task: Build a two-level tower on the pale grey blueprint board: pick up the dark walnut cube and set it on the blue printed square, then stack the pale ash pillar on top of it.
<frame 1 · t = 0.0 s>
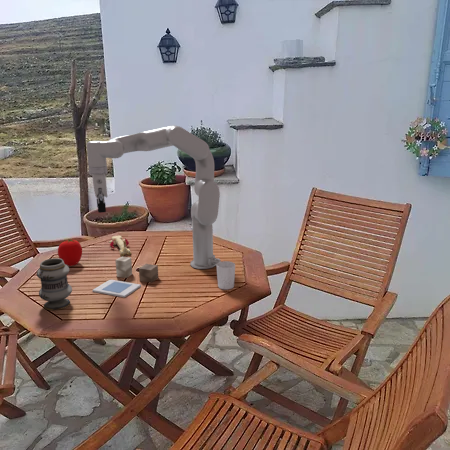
hand: (101, 209, 191), 31 cm above the table, tool pointing down, fingers open, 9 cm apart
apothecary jar: (57, 305, 172), on the table
blueprint board: (117, 289, 186), on the table
white cup: (226, 286, 187), on the table
ash pillar: (124, 275, 201), on the table
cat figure: (120, 249, 237), on the table
tomato: (72, 265, 214), on the table
walnut cube: (149, 279, 196), on the table
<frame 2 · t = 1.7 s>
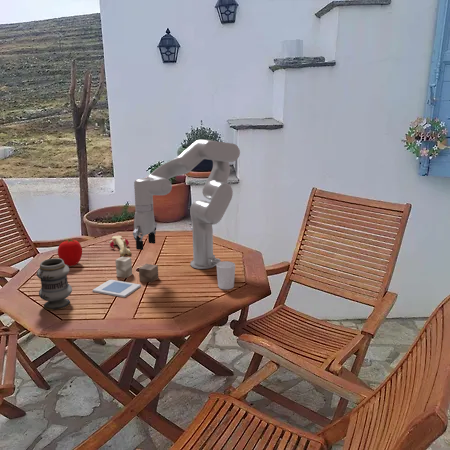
hand: (146, 246, 191), 16 cm above the table, tool pointing down, fingers open, 9 cm apart
nothing on the table moved.
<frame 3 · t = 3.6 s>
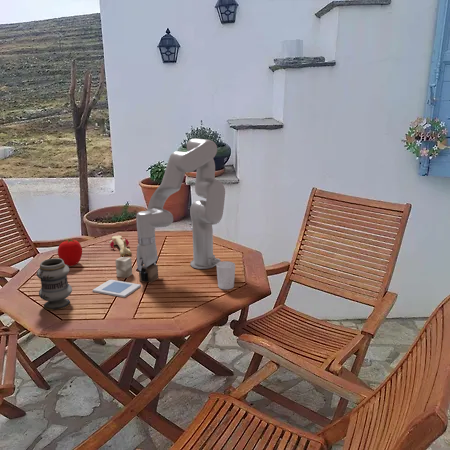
hand: (148, 277, 195), 1 cm above the table, tool pointing down, fingers closed on walnut cube, 6 cm apart
walnut cube: (149, 279, 196), on the table, touching gripper
everything else where it was.
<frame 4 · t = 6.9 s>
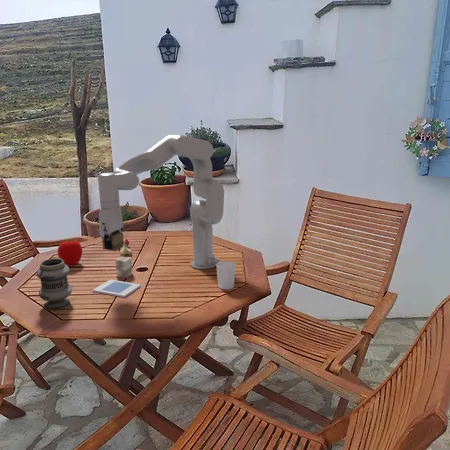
hand: (113, 246, 181), 19 cm above the table, tool pointing down, fingers closed on walnut cube, 6 cm apart
walnut cube: (113, 247, 181), point 18 cm above the table, touching gripper
when the fingers open (3 cm above the table, at t = 10.2 s): walnut cube drops 1 cm, resting on blueprint board.
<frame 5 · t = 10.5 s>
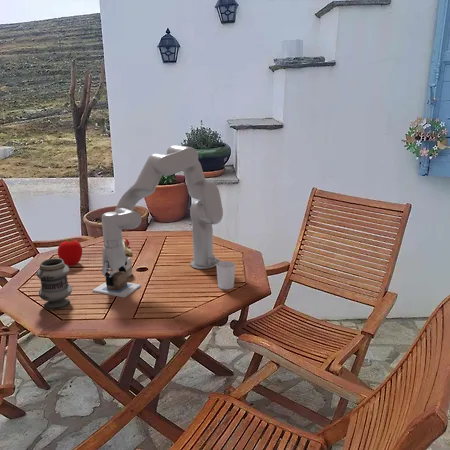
hand: (116, 281, 185), 3 cm above the table, tool pointing down, fingers open, 8 cm apart
walnut cube: (117, 286, 186), point 1 cm above the table, touching blueprint board
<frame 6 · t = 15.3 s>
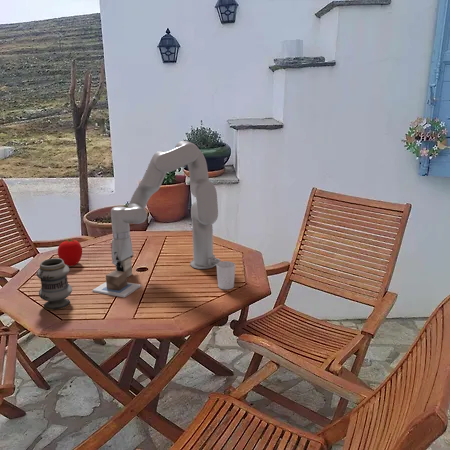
hand: (124, 272, 200), 1 cm above the table, tool pointing down, fingers closed on ash pillar, 5 cm apart
ash pillar: (124, 275, 200), on the table, touching gripper
when the fingers open (10 cm above the table, at t = 20.8 s): ash pillar drops 1 cm, resting on walnut cube.
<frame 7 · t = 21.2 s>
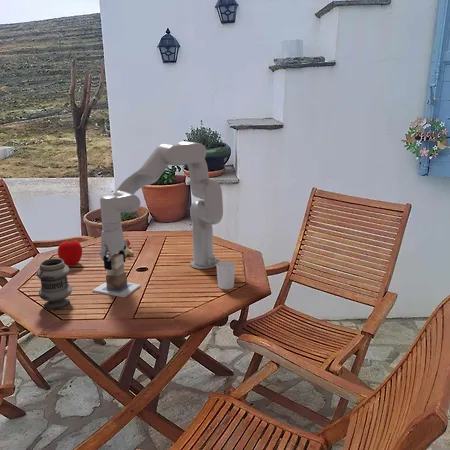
hand: (115, 265, 183), 11 cm above the table, tool pointing down, fingers open, 9 cm apart
ash pillar: (115, 273, 184), point 7 cm above the table, touching walnut cube
walnut cube: (117, 286, 186), point 1 cm above the table, touching ash pillar, blueprint board
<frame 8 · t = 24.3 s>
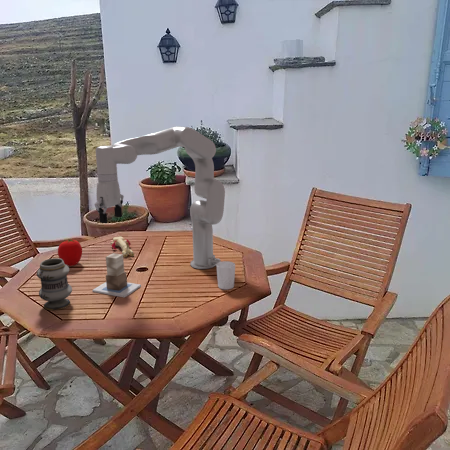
hand: (111, 219, 178), 30 cm above the table, tool pointing down, fingers open, 9 cm apart
at the end: walnut cube 0.1 cm off-centre on the blueprint board, point 0.9 cm above the blueprint board's base; ash pillar 0.0 cm off-centre on the walnut cube, point 6.0 cm above the walnut cube's base; ash pillar tilted 0° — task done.
